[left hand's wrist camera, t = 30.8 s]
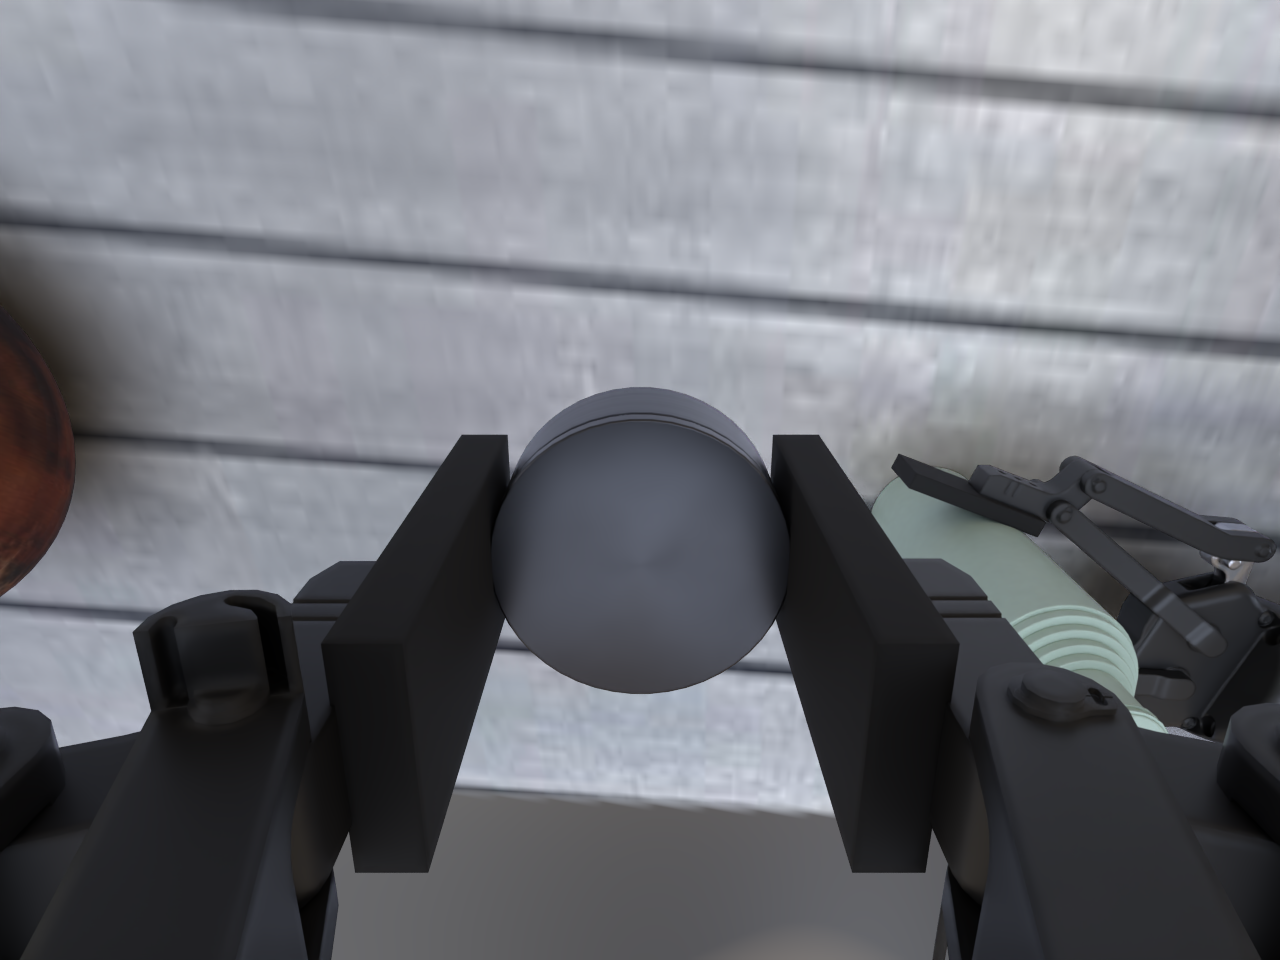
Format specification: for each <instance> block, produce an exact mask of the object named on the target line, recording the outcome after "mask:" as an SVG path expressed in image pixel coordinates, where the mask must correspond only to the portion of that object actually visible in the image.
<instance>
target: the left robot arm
mask: <svg viewBox="0 0 1280 960" xmlns="http://www.w3.org/2000/svg"><path fill="white" fill-rule="evenodd" d="M771 481H772V483H773V486H774V488H775V490H776V493H777V495H778V497H779V500H780V502H781V505H782V507H783V510H784V513H785V515H786V518H787V521H788V525H789V530H790V554H789V569H788V583H787V594H786V597H785V600H784V602H783V605H782V608H781V610H780V612H779V614H778V615H777V617H776V621H777V625H778V628H779V631H780V635H781V638H782V641H783V645H784V648H785V651H786V654H787V658H788V661H789V664H790V668H791V671H792V674H793V678H794V681H795V684H796V688H797V691H798V694H799V698H800V701H801V704H802V707H803V711H804V714H805V717H806V721H807V724H808V727H809V731H810V734H811V737H812V741H813V744H814V747H815V751H816V754H817V757H818V760H819V764H820V767H821V770H822V774H823V777H824V780H825V784H826V787H827V790H828V794H829V797H830V800H831V804H832V807H833V810H834V813H835V817H836V820H837V823H838V827H839V830H840V833H841V837H842V840H843V843H844V847H845V850H846V853H847V856H848V860H849V863H850V866H851V869H852V872H853V873H925V872H926V865H927V858H928V852H929V845H930V839H931V832H932V829H933V831H934V833H935V835H936V838H937V840H938V842H939V844H940V847H941V849H942V851H943V853H944V856H945V858H946V860H947V862H948V865H947V871H946V877H945V884H944V890H943V896H942V902H941V908H940V914H939V921H938V927H937V933H936V939H935V946H934V953H933V960H945V955H946V950H947V948H948V955H949V960H1280V704H1274V703H1263V704H1256V705H1249V706H1243V707H1242V708H1241V709H1240V710H1238V711H1237V712H1236V713H1234V714H1233V715H1232V716H1231V718H1230V722H1229V725H1228V729H1227V732H1226V735H1225V739H1224V742H1223V744H1220V743H1215V742H1210V741H1204V740H1199V739H1194V738H1188V737H1183V736H1178V735H1172V734H1167V733H1162V732H1157V731H1153V730H1149V729H1145V728H1140V727H1138V726H1137V724H1136V723H1135V721H1134V719H1133V717H1132V715H1131V713H1130V711H1129V710H1128V709H1127V707H1126V706H1125V705H1124V704H1123V703H1122V702H1121V700H1120V699H1119V698H1118V697H1117V696H1116V695H1115V694H1114V693H1113V692H1111V691H1110V690H1108V689H1107V688H1105V687H1103V686H1102V685H1100V684H1099V683H1097V682H1096V681H1094V680H1092V679H1090V678H1088V677H1085V676H1083V675H1080V674H1077V673H1075V672H1072V671H1070V670H1067V669H1065V668H1060V667H1055V666H1050V665H1045V664H1043V663H1042V662H1041V661H1040V660H1039V659H1038V657H1037V656H1036V655H1035V654H1034V652H1033V651H1032V650H1031V649H1030V648H1029V646H1028V645H1027V644H1026V643H1025V641H1024V640H1023V639H1022V638H1021V637H1020V635H1019V634H1018V633H1017V632H1016V630H1015V629H1014V628H1013V627H1012V626H1011V624H1010V623H1009V622H1008V621H1007V619H1006V618H1002V613H1001V612H1000V611H999V610H998V608H997V607H996V606H995V605H994V604H993V602H992V601H991V600H988V596H987V595H986V594H985V592H984V591H983V590H982V589H981V588H980V586H979V585H978V584H977V583H976V581H975V580H974V579H973V578H972V577H971V576H970V575H969V574H967V573H965V572H963V571H962V570H960V569H958V568H957V567H955V566H953V565H952V564H950V563H948V562H946V561H945V560H943V559H941V558H902V557H901V556H900V554H899V553H898V551H897V550H896V548H895V547H894V545H893V544H892V542H891V541H890V540H889V538H888V537H887V535H886V534H885V532H884V531H883V529H882V528H881V526H880V525H879V523H878V522H877V520H876V519H875V517H874V516H873V514H872V513H871V511H870V510H869V508H868V507H867V506H866V504H865V503H864V501H863V500H862V498H861V497H860V495H859V494H858V492H857V491H856V489H855V488H854V486H853V485H852V483H851V482H850V480H849V479H848V477H847V476H846V474H845V473H844V472H843V470H842V469H841V467H840V466H839V464H838V463H837V461H836V460H835V458H834V457H833V455H832V454H831V452H830V451H829V449H828V448H827V446H826V445H825V443H824V442H823V440H822V439H821V438H820V436H819V435H773V445H772V462H771ZM509 482H510V470H509V452H508V435H461V437H460V438H459V440H458V441H457V443H456V444H455V446H454V447H453V449H452V450H451V452H450V453H449V455H448V456H447V458H446V459H445V461H444V462H443V463H442V465H441V466H440V468H439V469H438V471H437V472H436V474H435V475H434V477H433V478H432V480H431V481H430V483H429V484H428V486H427V487H426V489H425V490H424V492H423V493H422V495H421V496H420V498H419V499H418V500H417V502H416V503H415V505H414V506H413V508H412V509H411V511H410V512H409V514H408V515H407V517H406V518H405V520H404V521H403V523H402V524H401V526H400V527H399V529H398V530H397V532H396V533H395V535H394V536H393V537H392V539H391V540H390V542H389V543H388V545H387V546H386V548H385V549H384V551H383V552H382V554H381V555H380V557H379V558H378V560H377V561H339V562H338V563H336V564H334V565H333V566H331V567H329V568H327V569H326V570H324V571H322V572H321V573H319V574H317V575H316V576H314V577H312V578H311V579H310V580H309V581H308V582H307V583H306V584H305V586H304V587H303V588H302V589H301V591H300V592H299V593H298V594H297V596H296V597H295V598H294V599H293V603H289V602H288V601H286V600H285V599H283V598H282V597H281V596H279V595H278V594H274V593H269V592H264V591H260V590H229V591H223V592H217V593H211V594H206V595H200V596H197V597H194V598H191V599H188V600H185V601H182V602H179V603H176V604H173V605H171V606H169V607H167V608H165V609H163V610H161V611H159V612H157V613H156V614H154V615H152V616H150V617H148V618H147V619H146V620H145V621H144V622H143V623H142V624H141V625H140V626H139V627H137V628H136V629H135V630H134V631H133V636H134V640H135V644H136V649H137V653H138V657H139V661H140V665H141V670H142V674H143V678H144V682H145V686H146V691H147V695H148V699H149V703H150V707H151V713H150V715H149V717H148V718H147V720H146V722H145V724H144V726H143V728H142V730H141V731H140V732H136V733H132V734H128V735H123V736H118V737H113V738H108V739H102V740H97V741H92V742H87V743H81V744H76V745H71V746H65V747H60V748H59V747H58V743H57V740H56V736H55V733H54V729H53V726H52V722H51V720H50V719H49V718H47V717H46V716H45V715H44V714H42V713H41V712H40V711H39V710H33V709H26V708H20V707H8V708H0V960H331V957H332V949H333V942H334V935H335V927H336V920H337V912H338V898H337V890H336V884H335V877H334V871H333V866H334V864H335V861H336V859H337V857H338V855H339V852H340V850H341V848H342V846H343V843H344V841H345V839H346V837H347V834H348V832H349V835H350V841H351V848H352V855H353V861H354V868H355V873H428V872H429V868H430V865H431V862H432V858H433V855H434V852H435V848H436V845H437V842H438V838H439V835H440V832H441V829H442V825H443V822H444V819H445V815H446V812H447V808H448V805H449V802H450V799H451V795H452V792H453V789H454V786H455V782H456V779H457V776H458V772H459V769H460V766H461V762H462V759H463V756H464V752H465V749H466V746H467V742H468V739H469V736H470V732H471V729H472V726H473V723H474V719H475V716H476V713H477V709H478V706H479V703H480V699H481V696H482V693H483V689H484V686H485V683H486V679H487V676H488V673H489V670H490V666H491V663H492V660H493V656H494V653H495V650H496V646H497V643H498V640H499V636H500V633H501V630H502V626H503V623H504V620H505V616H504V614H503V612H502V611H501V609H500V606H499V604H498V601H497V598H496V595H495V593H494V587H493V574H492V559H491V543H490V536H491V532H492V528H493V523H494V519H495V517H496V514H497V511H498V509H499V506H500V504H501V501H502V499H503V496H504V494H505V492H506V489H507V487H508V485H509Z"/></svg>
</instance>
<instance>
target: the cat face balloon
mask: <svg viewBox="0 0 1280 960" xmlns="http://www.w3.org/2000/svg"><path fill="white" fill-rule="evenodd" d="M75 466H76V460H75V445H74V436H73V431H72V426H71V421H70V417H69V414H68V411H67V408H66V405H65V402H64V399H63V397H62V394H61V392H60V390H59V388H58V385H57V383H56V381H55V379H54V377H53V375H52V373H51V372H50V370H49V368H48V366H47V365H46V363H45V361H44V359H43V358H42V356H41V354H40V353H39V351H38V350H37V348H36V347H35V346H34V344H33V343H32V341H31V340H30V338H29V337H28V336H27V334H26V333H25V332H24V331H23V330H22V328H21V327H20V326H19V325H18V324H17V323H16V321H15V320H14V319H13V318H12V317H11V316H10V315H9V313H8V312H7V311H6V310H5V309H4V308H3V307H2V306H1V305H0V597H1V596H2V595H3V594H5V593H6V592H7V591H9V590H10V589H11V588H13V587H14V586H15V585H16V584H17V583H19V582H20V581H21V580H22V579H23V578H24V577H25V576H26V575H27V574H28V573H29V572H30V571H31V570H32V569H33V568H34V567H35V566H36V564H37V563H38V562H39V561H40V560H41V558H42V557H43V556H44V555H45V554H46V552H47V550H48V549H49V547H50V546H51V544H52V543H53V541H54V540H55V538H56V537H57V535H58V532H59V530H60V528H61V526H62V524H63V522H64V520H65V517H66V514H67V511H68V508H69V505H70V502H71V498H72V493H73V488H74V482H75Z"/></svg>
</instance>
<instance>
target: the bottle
mask: <svg viewBox="0 0 1280 960" xmlns="http://www.w3.org/2000/svg"><path fill="white" fill-rule="evenodd" d="M935 468H937V469H940V470H942V471H945V472H948V473H950V474H953V475H955V476H958V477H961V478H963V479H966V478H965V477H963V476H962V475H960V474H959V473H957V472H955V471H952V470H949V469H945V468H939V467H935ZM966 480H967V479H966ZM871 513H872V514H873V516H874V517H875V519H876V520H877V522H878V523H879V525H880V526H881V528H882V529H883V531H884V532H885V534H886V535H887V537H888V538H889V540H890V541H891V542H892V544H893V545H894V547H895V548H896V550H897V551H898V553H899V554H900V556H901V557H902V558H941V559H943V560H945V561H946V562H948V563H950V564H952V565H953V566H955V567H957V568H958V569H960V570H962V571H963V572H965V573H967V574H969V575H970V576H971V577H972V578H973V579H974V580H975V581H976V583H977V584H978V585H979V586H980V588H981V589H982V590H983V591H984V592H985V594H986V595H987V596H988V600H991V601H992V602H993V604H994V605H995V606H996V607H997V608H998V610H999V611H1000V612H1001V613H1002V618H1006V619H1007V621H1008V622H1009V623H1010V624H1011V626H1012V627H1013V628H1014V629H1015V630H1016V632H1017V633H1018V634H1019V635H1020V637H1021V638H1022V639H1023V640H1024V641H1025V643H1026V644H1027V645H1028V646H1029V648H1030V649H1031V650H1032V651H1033V652H1034V654H1035V655H1036V656H1037V657H1038V659H1039V660H1040V661H1041V662H1042V663H1043V664H1045V665H1050V666H1055V667H1060V668H1065V669H1067V670H1070V671H1072V672H1075V673H1077V674H1080V675H1083V676H1085V677H1088V678H1090V679H1092V680H1094V681H1096V682H1097V683H1099V684H1100V685H1102V686H1103V687H1105V688H1107V689H1108V690H1110V691H1111V692H1113V693H1114V694H1115V695H1116V696H1117V697H1118V698H1119V699H1120V700H1121V702H1122V703H1123V704H1124V705H1125V706H1126V707H1127V709H1128V710H1129V711H1130V713H1131V715H1132V717H1133V719H1134V721H1135V723H1136V724H1137V726H1138V727H1140V728H1145V729H1149V730H1153V731H1157V732H1162V733H1167V734H1169V733H1168V731H1167V730H1166V728H1165V727H1164V725H1163V723H1162V722H1160V721H1159V720H1158V719H1157V717H1156V716H1155V715H1154V714H1152V713H1151V712H1150V711H1149V710H1148V709H1146V708H1143V707H1142V705H1141V704H1140V703H1139V702H1138V701H1137V700H1136V699H1135V698H1134V695H1135V690H1136V685H1137V680H1138V660H1137V656H1136V653H1135V650H1134V648H1133V644H1132V641H1131V639H1130V637H1129V635H1128V634H1127V632H1126V631H1125V629H1124V628H1123V627H1122V626H1121V625H1120V624H1119V623H1118V622H1117V621H1116V620H1115V619H1114V618H1113V617H1112V616H1111V615H1110V614H1109V613H1108V612H1107V611H1106V610H1105V609H1104V608H1102V607H1101V606H1100V605H1099V604H1098V603H1097V602H1096V601H1095V600H1094V599H1093V598H1092V597H1091V596H1090V595H1089V594H1088V593H1087V592H1086V591H1085V590H1083V589H1082V588H1081V587H1080V586H1079V585H1078V584H1077V583H1076V582H1075V581H1074V580H1073V579H1072V578H1071V577H1070V576H1069V575H1068V574H1067V573H1066V572H1064V571H1063V570H1062V569H1061V568H1060V567H1059V566H1058V565H1057V564H1056V563H1055V562H1054V561H1053V560H1052V559H1051V558H1050V557H1049V556H1048V555H1047V554H1045V553H1044V552H1043V551H1042V550H1041V549H1040V548H1039V547H1038V546H1037V545H1036V544H1035V543H1034V542H1033V541H1032V540H1031V539H1030V538H1029V537H1028V536H1026V535H1025V534H1024V533H1023V532H1022V531H1020V530H1017V529H1015V528H1012V527H1009V526H1007V525H1004V524H1001V523H999V522H996V521H993V520H991V519H988V518H986V517H983V516H980V515H978V514H975V513H972V512H970V511H967V510H964V509H962V508H959V507H957V506H954V505H951V504H949V503H946V502H943V501H941V500H938V499H935V498H933V497H930V496H928V495H925V494H922V493H920V492H917V491H914V490H912V489H909V488H908V487H907V486H906V485H905V483H904V482H903V481H902V480H901V479H900V477H897V478H896V479H895V480H893V481H892V482H891V483H890V484H888V485H887V486H886V487H885V488H884V490H883V491H882V492H881V493H880V495H879V496H878V498H877V500H876V502H875V504H874V506H873V509H872V512H871Z"/></svg>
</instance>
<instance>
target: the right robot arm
mask: <svg viewBox="0 0 1280 960" xmlns="http://www.w3.org/2000/svg"><path fill="white" fill-rule="evenodd" d="M891 468H892V469H893V470H894V472H895V473H896V474H897V475H898V476H899V477H900V479H901V480H902V481H903V482H904V483H905V485H906V486H907V487H908V488H909V489H912V490H914V491H917V492H920V493H922V494H925V495H928V496H930V497H933V498H935V499H938V500H941V501H943V502H946V503H949V504H951V505H954V506H957V507H959V508H962V509H964V510H967V511H970V512H972V513H975V514H978V515H980V516H983V517H986V518H988V519H991V520H993V521H996V522H999V523H1001V524H1004V525H1007V526H1009V527H1012V528H1015V529H1017V530H1020V531H1022V532H1025V533H1028V534H1030V535H1033V536H1036V537H1038V536H1039V534H1040V532H1041V531H1042V529H1043V527H1044V526H1045V524H1046V522H1045V521H1048V522H1050V523H1051V524H1052V525H1054V526H1055V527H1056V528H1057V529H1058V530H1059V531H1061V532H1062V533H1063V534H1064V535H1065V536H1066V537H1068V538H1069V539H1070V540H1071V541H1072V542H1073V543H1074V544H1076V545H1077V546H1078V547H1079V548H1080V549H1081V550H1083V551H1084V552H1085V553H1086V554H1087V555H1088V556H1089V557H1091V558H1092V559H1093V560H1094V561H1095V562H1096V563H1098V564H1099V565H1100V566H1101V567H1102V568H1103V569H1105V570H1106V571H1107V572H1108V573H1109V574H1110V575H1111V576H1113V577H1114V578H1115V579H1116V580H1117V581H1118V582H1120V583H1121V584H1122V585H1123V586H1124V587H1125V588H1126V589H1128V590H1129V591H1130V592H1131V593H1130V594H1129V596H1128V597H1127V599H1126V600H1125V602H1124V603H1123V605H1122V607H1121V610H1120V613H1119V616H1118V619H1117V620H1116V621H1117V622H1118V623H1119V624H1120V625H1121V626H1122V627H1123V628H1124V629H1125V631H1126V632H1127V634H1128V635H1129V637H1130V639H1131V641H1132V644H1133V648H1134V650H1135V653H1136V656H1137V660H1138V680H1137V685H1136V690H1135V695H1134V698H1135V699H1136V700H1137V701H1138V702H1139V703H1140V704H1141V705H1142V707H1143V708H1146V709H1148V710H1149V711H1150V712H1151V713H1152V714H1154V715H1155V716H1156V717H1157V719H1158V720H1159V721H1160V722H1162V723H1163V725H1164V727H1178V728H1181V729H1183V730H1185V731H1188V732H1190V733H1192V734H1194V735H1197V736H1199V737H1202V738H1204V739H1207V740H1210V741H1213V742H1216V743H1220V744H1223V742H1224V739H1225V735H1226V732H1227V729H1228V725H1229V722H1230V718H1231V716H1232V715H1233V714H1234V713H1236V712H1237V711H1238V710H1240V709H1241V708H1242V707H1243V706H1249V705H1256V704H1263V703H1274V704H1280V605H1279V604H1276V603H1273V602H1271V601H1268V600H1266V599H1263V598H1261V597H1258V596H1255V594H1254V592H1253V591H1252V590H1251V589H1250V588H1249V587H1248V586H1247V585H1246V582H1247V579H1248V577H1249V574H1250V572H1251V569H1252V566H1253V564H1254V562H1258V563H1259V562H1265V561H1267V560H1269V559H1270V558H1271V557H1273V555H1274V554H1275V552H1276V544H1275V542H1274V541H1273V540H1271V539H1269V538H1268V537H1266V536H1264V535H1263V534H1261V533H1259V532H1257V531H1256V530H1254V529H1252V528H1251V527H1249V526H1247V525H1246V524H1244V523H1242V522H1240V521H1239V520H1237V519H1234V518H1227V517H1216V516H1204V515H1197V514H1195V513H1193V512H1191V511H1189V510H1187V509H1185V508H1183V507H1181V506H1179V505H1177V504H1175V503H1173V502H1171V501H1169V500H1167V499H1165V498H1163V497H1161V496H1158V495H1156V494H1154V493H1152V492H1150V491H1148V490H1146V489H1144V488H1142V487H1140V486H1138V485H1136V484H1134V483H1132V482H1130V481H1128V480H1126V479H1124V478H1122V477H1120V476H1118V475H1116V474H1114V473H1111V472H1109V471H1107V470H1105V469H1103V468H1101V467H1099V466H1097V465H1095V464H1093V463H1091V462H1089V461H1087V460H1085V459H1083V458H1081V457H1078V456H1070V457H1068V458H1066V459H1065V460H1064V461H1063V462H1062V463H1061V465H1060V469H1059V473H1058V474H1057V475H1056V476H1055V477H1054V478H1052V479H1051V480H1049V481H1047V482H1042V481H1040V480H1038V479H1033V480H1027V479H1024V478H1022V477H1019V476H1017V475H1014V474H1011V473H1008V472H1006V471H1004V470H1001V469H999V468H996V467H993V466H991V465H978V466H977V468H976V469H975V471H974V473H973V475H972V476H971V478H970V480H969V481H968V480H966V479H963V478H961V477H958V476H955V475H953V474H950V473H948V472H945V471H942V470H940V469H937V468H935V467H932V466H929V465H927V464H924V463H922V462H919V461H916V460H914V459H911V458H909V457H906V456H903V455H901V454H898V456H897V458H896V460H895V462H894V464H893V466H892V467H891ZM1091 499H1094V500H1096V501H1099V502H1101V503H1103V504H1105V505H1107V506H1109V507H1111V508H1113V509H1115V510H1117V511H1119V512H1121V513H1123V514H1126V515H1128V516H1130V517H1132V518H1134V519H1136V520H1138V521H1140V522H1142V523H1144V524H1146V525H1148V526H1150V527H1153V528H1155V529H1157V530H1159V531H1161V532H1163V533H1165V534H1167V535H1169V536H1171V537H1173V538H1175V539H1177V540H1179V541H1182V542H1184V543H1186V544H1188V545H1190V546H1192V547H1194V548H1196V549H1198V550H1200V551H1199V553H1200V556H1201V558H1203V559H1204V560H1205V561H1207V562H1208V563H1210V564H1211V565H1213V566H1214V572H1209V573H1205V574H1200V575H1196V576H1191V577H1187V578H1182V579H1178V580H1173V581H1169V582H1164V583H1161V582H1160V581H1159V580H1158V579H1156V578H1155V577H1154V576H1153V575H1152V574H1151V573H1150V572H1149V571H1147V570H1146V569H1145V568H1144V567H1143V566H1142V565H1141V564H1139V563H1138V562H1137V561H1136V560H1135V559H1134V558H1133V557H1131V556H1130V555H1129V554H1128V553H1127V552H1126V551H1125V550H1124V549H1122V548H1121V547H1120V546H1119V545H1118V544H1117V543H1116V542H1114V541H1113V540H1112V539H1111V538H1110V537H1109V536H1108V535H1106V534H1105V533H1104V532H1103V531H1102V530H1101V529H1100V528H1098V527H1097V526H1096V525H1095V524H1094V523H1093V522H1092V521H1091V520H1089V519H1088V518H1087V517H1086V516H1085V515H1084V514H1083V513H1081V512H1080V511H1079V509H1081V508H1082V507H1083V506H1084V505H1085V504H1086V503H1087V502H1089V501H1090V500H1091ZM1042 519H1043V520H1045V521H1043V520H1042Z"/></svg>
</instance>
